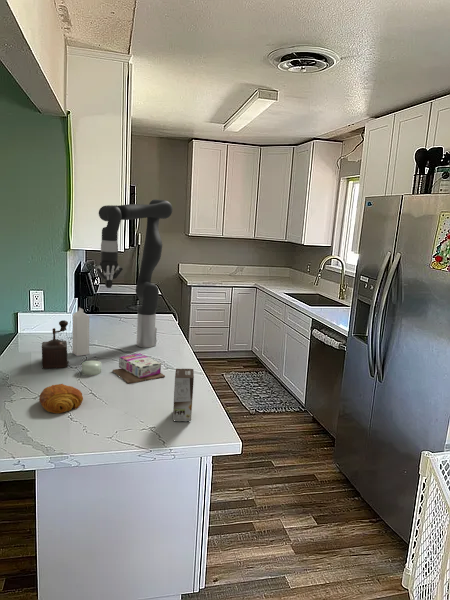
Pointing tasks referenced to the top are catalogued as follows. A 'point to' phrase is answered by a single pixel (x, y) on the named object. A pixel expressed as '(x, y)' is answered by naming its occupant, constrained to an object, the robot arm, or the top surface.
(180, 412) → the coffee box
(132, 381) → the display board
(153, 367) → the candy bar box
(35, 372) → the top surface
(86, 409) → the top surface
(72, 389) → the croissant
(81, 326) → the milk
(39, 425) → the top surface
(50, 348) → the coffee grinder
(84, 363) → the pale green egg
